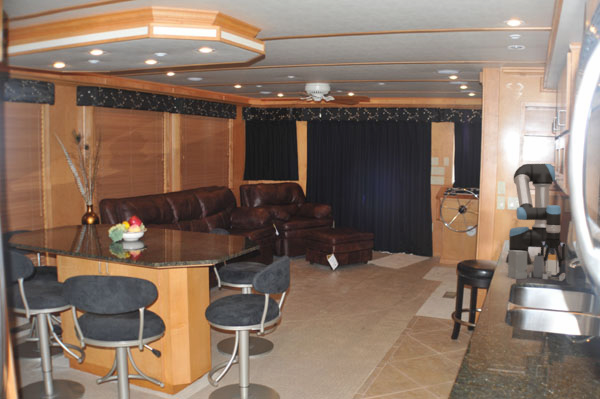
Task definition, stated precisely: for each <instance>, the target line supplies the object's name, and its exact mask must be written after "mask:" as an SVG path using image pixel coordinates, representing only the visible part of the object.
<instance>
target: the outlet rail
mask: <svg viewBox="0 0 600 399" xmlns="http://www.w3.org/2000/svg"><path fill="white" fill-rule="evenodd" d="M528 278H530V279H538V280H539V279H540V280H546V281H547V280H549V281H558V282H563V281H564V280H565V279H566V273H565V272H562V273H560V275H559V276H558V277H556V276H555V277H554V276H552V275H551V272H550V271H546V270H545V271H544V273H543V277H542V278H537V277H534V269H532V270H530V271H528Z"/></svg>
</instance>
